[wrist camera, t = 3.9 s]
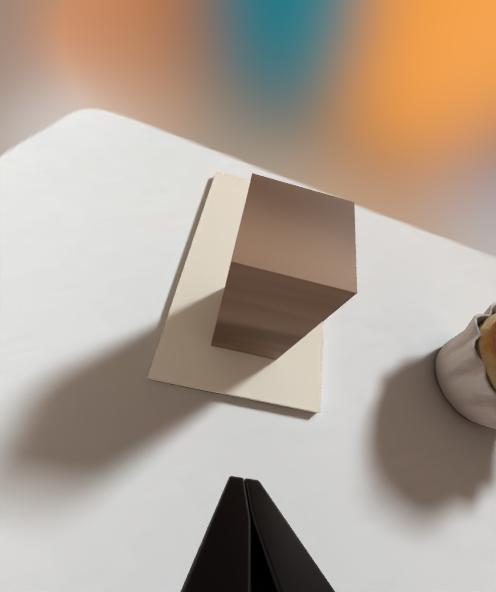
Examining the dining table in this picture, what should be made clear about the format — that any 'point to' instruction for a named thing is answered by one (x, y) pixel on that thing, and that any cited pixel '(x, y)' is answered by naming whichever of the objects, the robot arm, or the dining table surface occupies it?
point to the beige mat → (203, 315)
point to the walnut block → (286, 268)
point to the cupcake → (471, 370)
